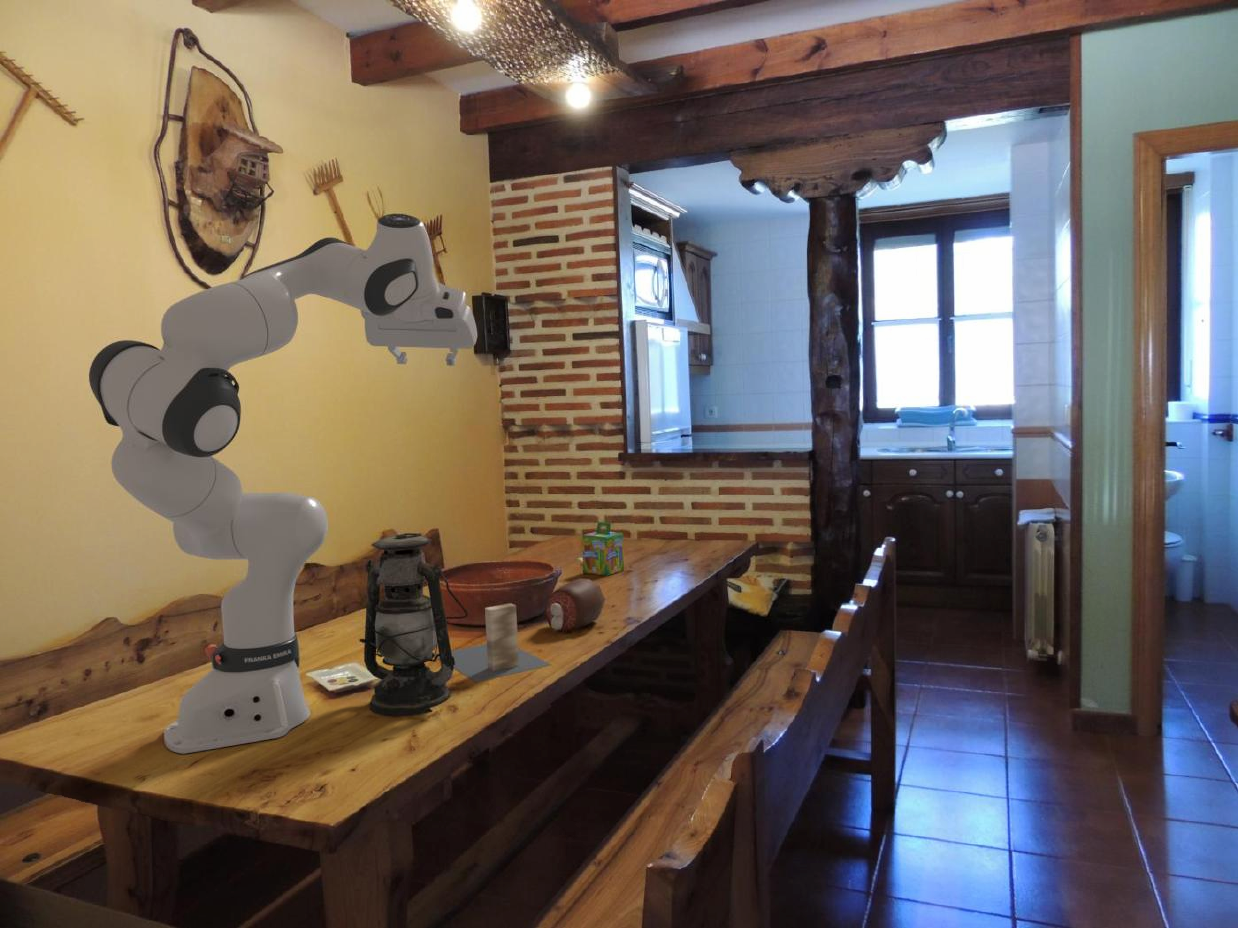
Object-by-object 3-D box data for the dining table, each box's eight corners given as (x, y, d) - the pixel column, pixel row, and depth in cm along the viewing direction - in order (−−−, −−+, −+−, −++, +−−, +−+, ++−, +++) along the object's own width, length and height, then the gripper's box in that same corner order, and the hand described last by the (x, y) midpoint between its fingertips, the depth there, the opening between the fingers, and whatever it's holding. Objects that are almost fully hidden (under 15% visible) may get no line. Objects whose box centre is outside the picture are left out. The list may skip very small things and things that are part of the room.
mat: (476, 685, 164) (476, 682, 164) (432, 657, 182) (432, 654, 182) (551, 667, 172) (551, 664, 172) (503, 642, 191) (502, 640, 191)
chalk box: (582, 573, 260) (580, 524, 259) (600, 567, 268) (598, 519, 267) (607, 576, 255) (605, 526, 254) (625, 570, 262) (623, 521, 261)
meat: (578, 641, 191) (576, 595, 190) (532, 637, 196) (529, 592, 194) (616, 616, 209) (614, 574, 208) (573, 613, 214) (571, 572, 213)
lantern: (340, 710, 153) (329, 540, 151) (405, 675, 171) (396, 523, 168) (432, 721, 146) (422, 543, 144) (489, 684, 164) (481, 525, 162)
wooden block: (493, 671, 170) (490, 610, 169) (488, 668, 172) (484, 607, 171) (518, 665, 173) (516, 605, 172) (513, 662, 175) (510, 603, 174)
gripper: (352, 308, 155) (368, 371, 165) (467, 311, 154) (476, 374, 164) (362, 289, 160) (377, 351, 169) (473, 292, 159) (482, 354, 168)
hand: (427, 363), depth 166 cm, fingers open, 8 cm apart
